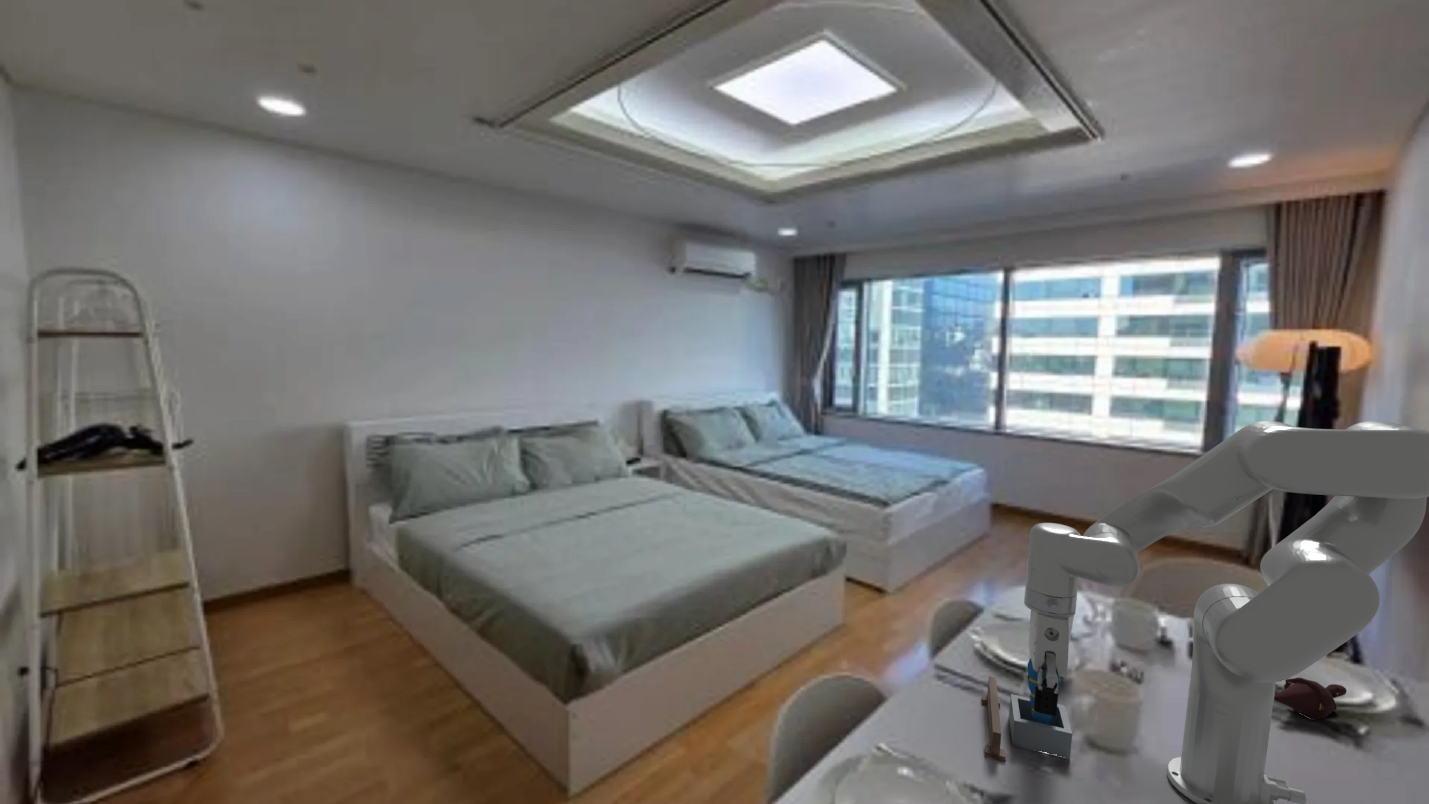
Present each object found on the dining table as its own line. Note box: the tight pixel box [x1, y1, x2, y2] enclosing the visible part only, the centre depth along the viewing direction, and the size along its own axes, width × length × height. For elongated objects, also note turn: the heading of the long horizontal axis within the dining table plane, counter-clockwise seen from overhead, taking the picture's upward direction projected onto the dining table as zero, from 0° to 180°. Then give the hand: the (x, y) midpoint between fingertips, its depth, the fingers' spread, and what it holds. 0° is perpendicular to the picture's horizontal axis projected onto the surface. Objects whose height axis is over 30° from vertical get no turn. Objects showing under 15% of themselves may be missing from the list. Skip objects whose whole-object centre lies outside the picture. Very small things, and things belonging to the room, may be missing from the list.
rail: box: [981, 675, 1007, 763], centre depth 108 cm, size 3×18×4 cm, turn 158°
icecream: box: [1274, 677, 1348, 721], centre depth 114 cm, size 7×7×15 cm
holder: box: [1008, 693, 1073, 761], centre depth 105 cm, size 8×8×4 cm
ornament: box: [1026, 657, 1062, 725], centre depth 104 cm, size 5×5×15 cm
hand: (1041, 697), depth 105 cm, fingers open, 9 cm apart
